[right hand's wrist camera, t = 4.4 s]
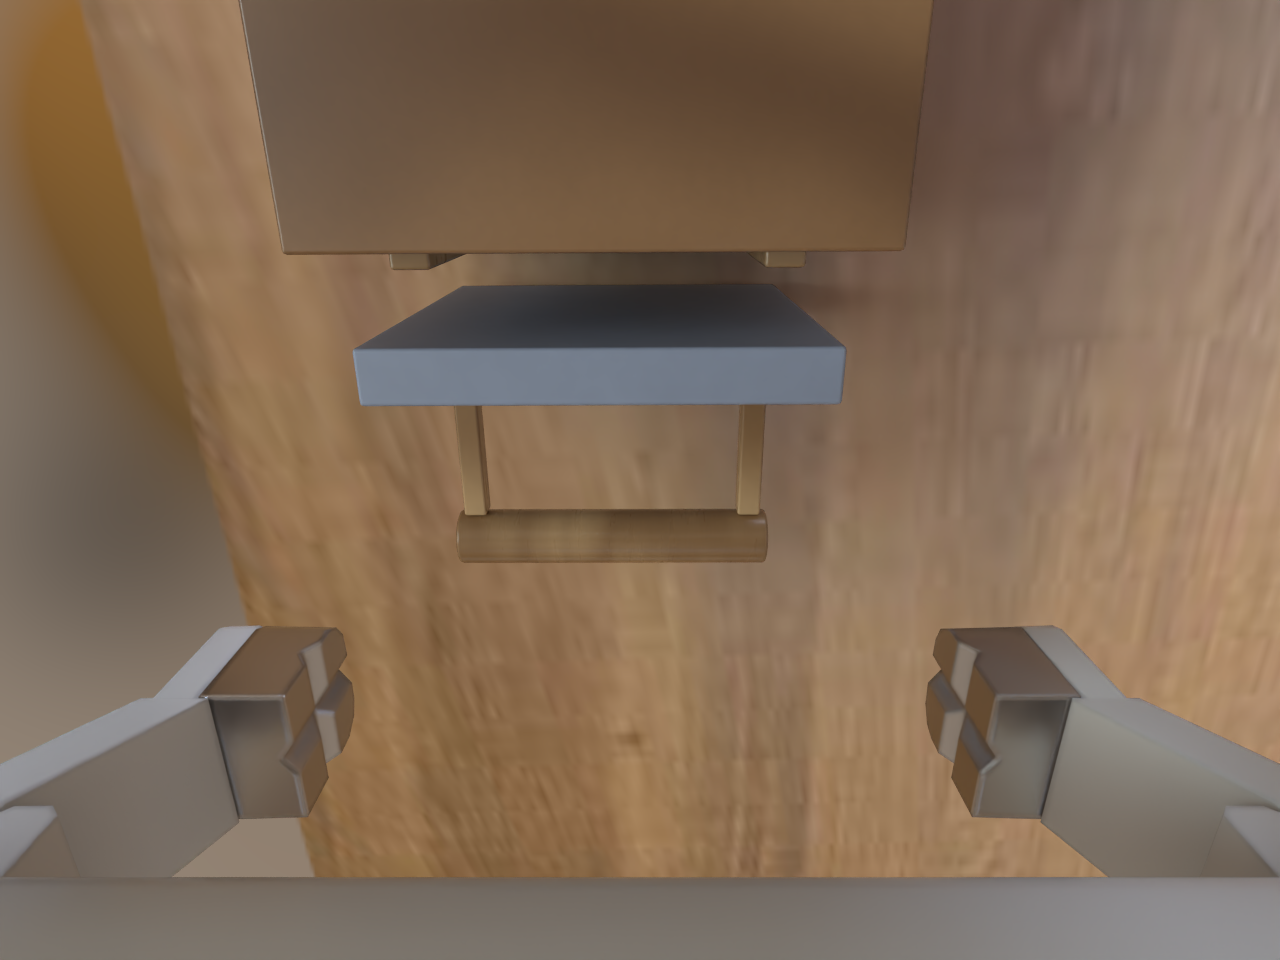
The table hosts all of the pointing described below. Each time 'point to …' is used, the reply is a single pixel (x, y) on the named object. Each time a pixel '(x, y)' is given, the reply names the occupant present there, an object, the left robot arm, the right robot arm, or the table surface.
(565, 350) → the drawer
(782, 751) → the table surface
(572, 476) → the table surface
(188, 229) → the table surface
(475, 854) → the table surface
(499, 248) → the cabinet
